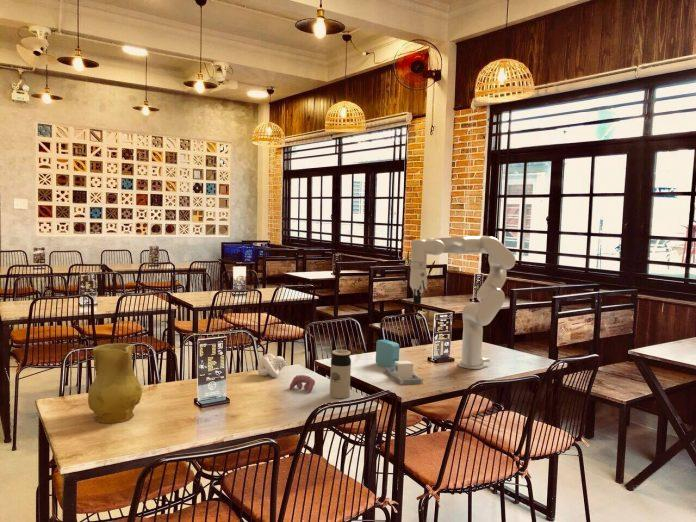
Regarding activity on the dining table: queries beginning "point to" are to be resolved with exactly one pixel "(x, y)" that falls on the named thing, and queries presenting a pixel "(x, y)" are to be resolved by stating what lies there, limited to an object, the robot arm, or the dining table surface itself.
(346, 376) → the travel mug
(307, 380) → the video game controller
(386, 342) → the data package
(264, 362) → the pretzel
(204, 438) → the dining table surface
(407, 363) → the module
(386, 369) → the grey rectangular frame
